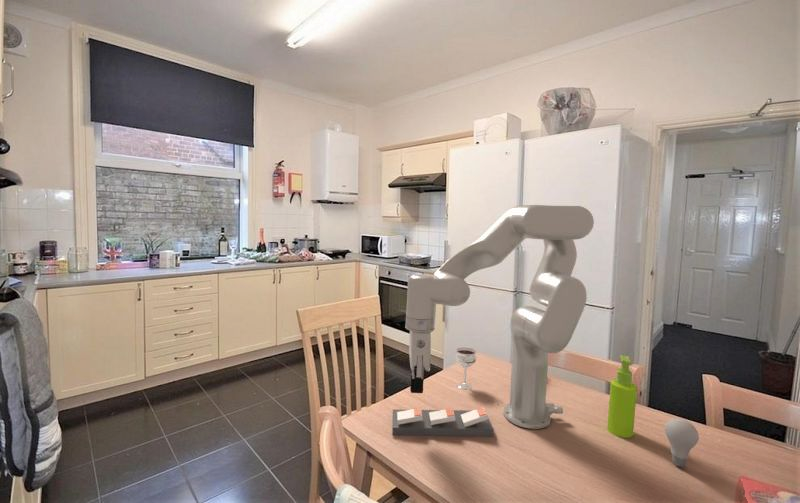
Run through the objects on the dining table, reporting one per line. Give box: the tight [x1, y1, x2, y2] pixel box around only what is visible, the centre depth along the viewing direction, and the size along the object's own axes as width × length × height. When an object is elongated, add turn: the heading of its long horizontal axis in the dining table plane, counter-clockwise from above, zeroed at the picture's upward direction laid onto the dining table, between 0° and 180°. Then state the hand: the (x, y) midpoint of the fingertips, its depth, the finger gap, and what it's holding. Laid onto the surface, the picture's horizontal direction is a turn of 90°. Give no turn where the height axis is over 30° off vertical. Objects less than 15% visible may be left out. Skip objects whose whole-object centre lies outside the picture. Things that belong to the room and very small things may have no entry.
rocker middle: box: [429, 407, 455, 425], centre depth 96 cm, size 6×4×1 cm, turn 90°
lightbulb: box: [664, 417, 700, 468], centre depth 84 cm, size 6×6×11 cm
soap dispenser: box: [607, 354, 638, 439], centre depth 97 cm, size 6×7×20 cm
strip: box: [391, 408, 494, 437], centre depth 98 cm, size 26×9×3 cm, turn 91°
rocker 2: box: [461, 406, 489, 427], centre depth 97 cm, size 6×4×1 cm, turn 90°
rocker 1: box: [397, 407, 423, 425], centre depth 96 cm, size 6×4×1 cm, turn 90°
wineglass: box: [455, 347, 477, 390], centre depth 122 cm, size 7×7×12 cm
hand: (416, 391), depth 96 cm, fingers closed
